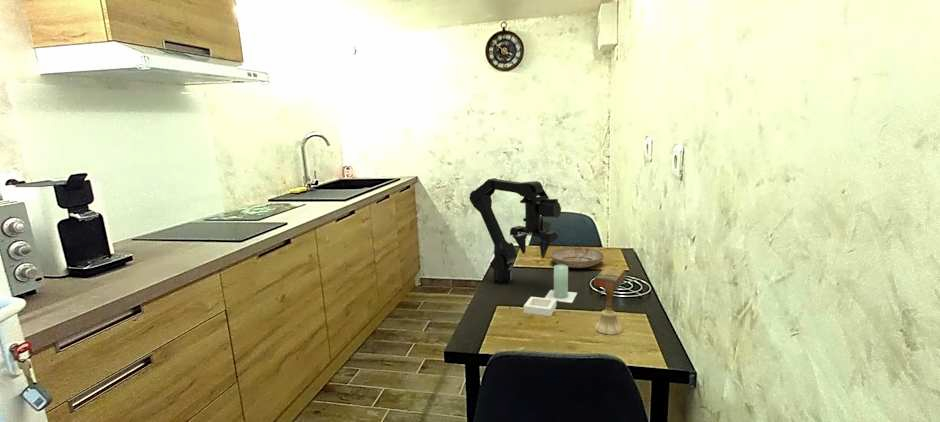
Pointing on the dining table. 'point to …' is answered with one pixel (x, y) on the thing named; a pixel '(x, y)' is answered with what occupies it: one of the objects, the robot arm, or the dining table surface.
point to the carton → (610, 276)
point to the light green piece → (560, 281)
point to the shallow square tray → (540, 306)
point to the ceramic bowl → (577, 257)
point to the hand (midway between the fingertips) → (533, 255)
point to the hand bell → (608, 314)
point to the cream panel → (569, 299)
